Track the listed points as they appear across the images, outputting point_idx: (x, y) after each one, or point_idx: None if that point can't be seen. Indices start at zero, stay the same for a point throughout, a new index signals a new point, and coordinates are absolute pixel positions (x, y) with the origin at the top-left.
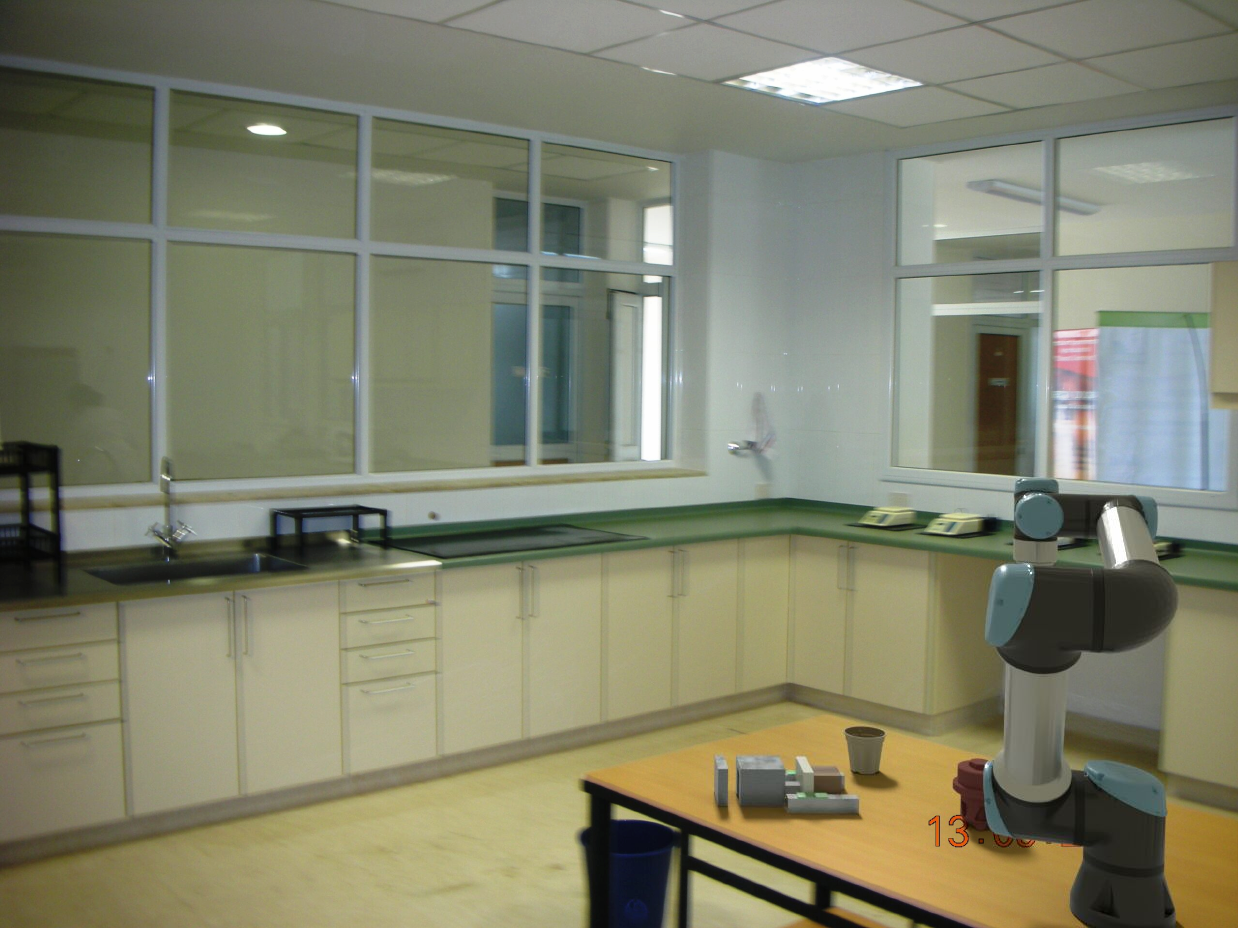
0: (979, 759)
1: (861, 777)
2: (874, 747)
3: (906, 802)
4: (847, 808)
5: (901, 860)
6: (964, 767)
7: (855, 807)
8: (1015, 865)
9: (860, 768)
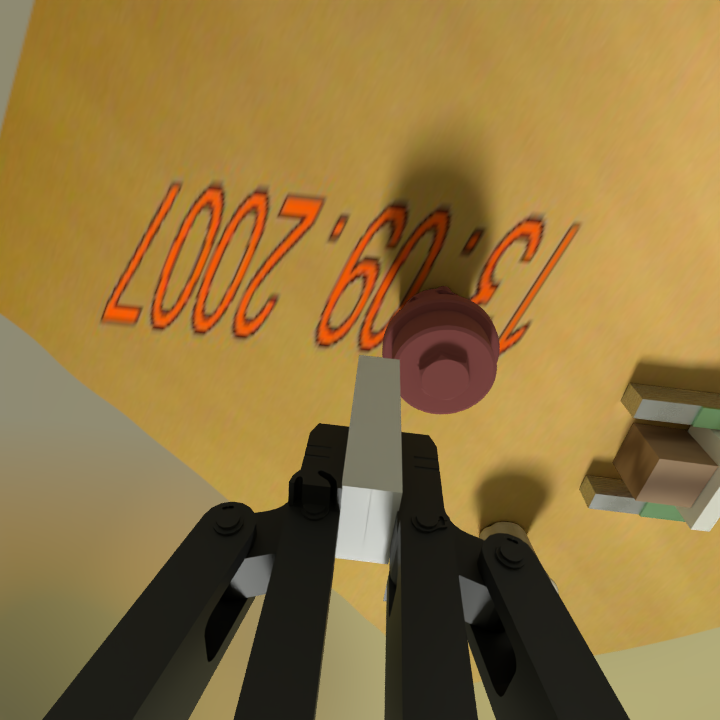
0: (439, 391)
1: (525, 513)
2: None
3: (510, 417)
4: (655, 390)
5: (701, 158)
6: (485, 372)
7: (641, 389)
8: (472, 107)
9: (521, 531)
